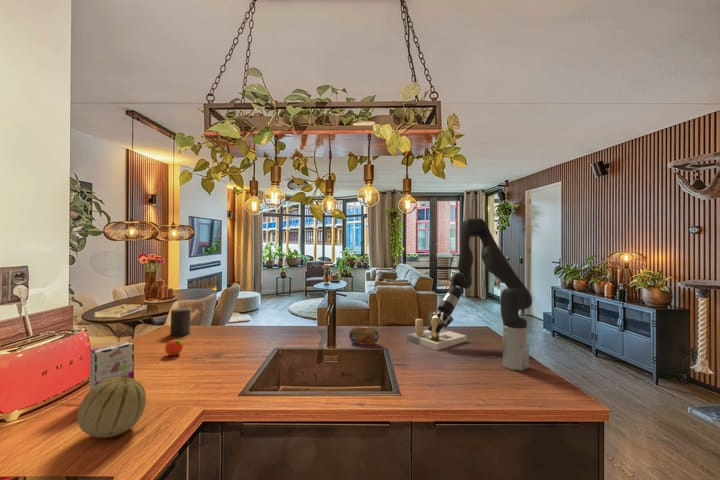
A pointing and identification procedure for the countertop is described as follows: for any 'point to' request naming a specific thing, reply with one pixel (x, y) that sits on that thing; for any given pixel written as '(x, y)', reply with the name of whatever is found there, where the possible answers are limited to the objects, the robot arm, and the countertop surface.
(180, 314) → the pillar candle
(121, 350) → the candy bar box
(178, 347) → the red tomato
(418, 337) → the pegboard
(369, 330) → the tin
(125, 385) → the cantaloupe
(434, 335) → the brass pin
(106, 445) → the countertop surface
